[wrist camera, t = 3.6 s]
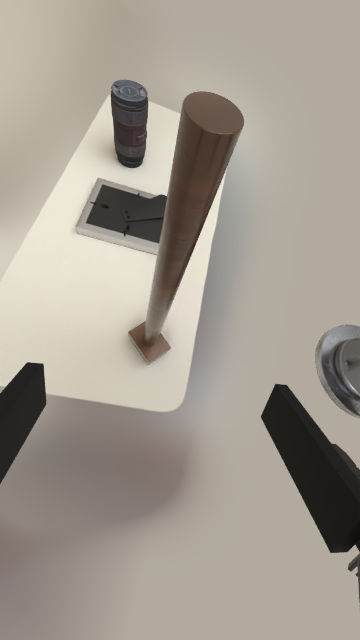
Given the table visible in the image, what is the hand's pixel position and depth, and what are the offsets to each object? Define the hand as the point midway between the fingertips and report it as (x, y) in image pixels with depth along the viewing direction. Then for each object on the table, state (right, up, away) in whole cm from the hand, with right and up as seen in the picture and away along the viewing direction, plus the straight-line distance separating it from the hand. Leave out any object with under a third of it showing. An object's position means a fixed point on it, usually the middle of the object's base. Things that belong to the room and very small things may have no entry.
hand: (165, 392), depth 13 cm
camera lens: (-13, +48, +49) cm, 70 cm away
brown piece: (-5, -1, +33) cm, 33 cm away
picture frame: (-11, +29, +43) cm, 52 cm away
